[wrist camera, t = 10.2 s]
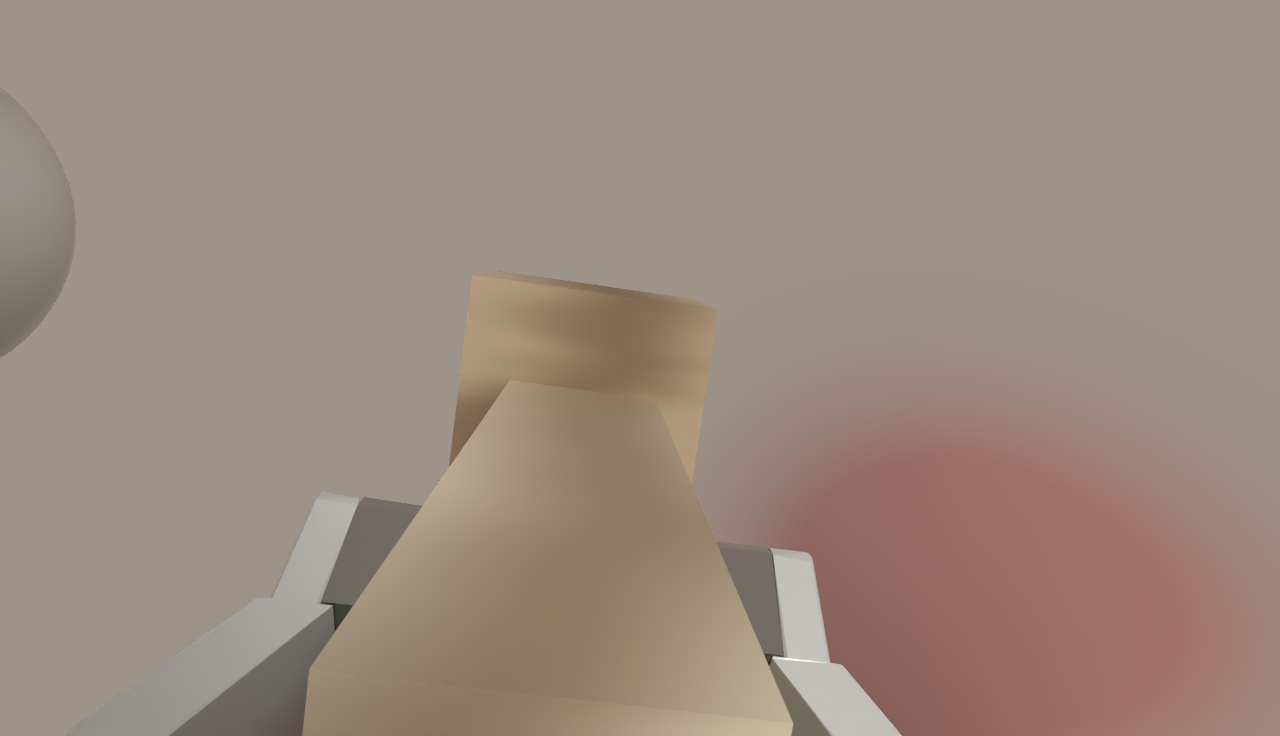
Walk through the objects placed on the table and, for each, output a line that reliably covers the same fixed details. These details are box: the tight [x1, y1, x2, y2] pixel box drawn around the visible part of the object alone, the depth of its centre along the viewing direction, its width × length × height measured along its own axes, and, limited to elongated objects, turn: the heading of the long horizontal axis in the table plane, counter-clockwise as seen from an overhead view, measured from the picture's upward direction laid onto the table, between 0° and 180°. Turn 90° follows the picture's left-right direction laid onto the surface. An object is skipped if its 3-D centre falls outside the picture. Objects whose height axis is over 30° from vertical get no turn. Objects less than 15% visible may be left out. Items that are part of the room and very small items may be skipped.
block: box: [302, 271, 793, 736], centre depth 15 cm, size 5×18×5 cm, turn 3°
